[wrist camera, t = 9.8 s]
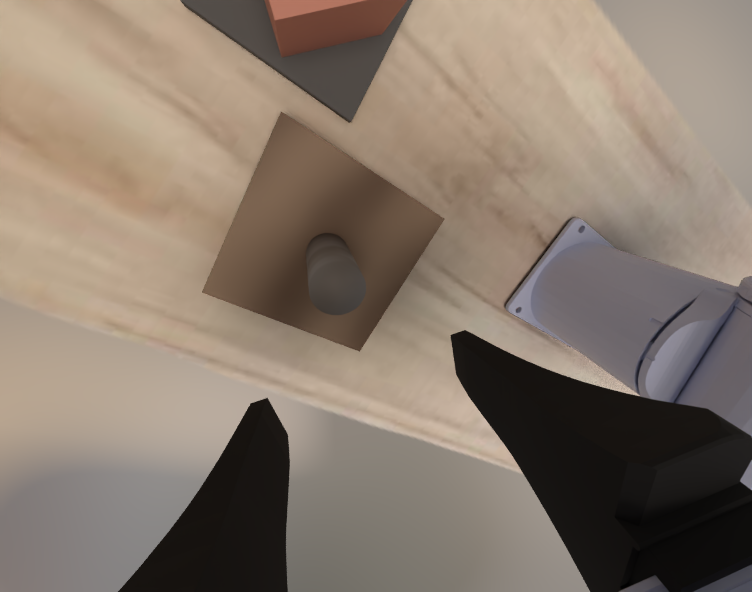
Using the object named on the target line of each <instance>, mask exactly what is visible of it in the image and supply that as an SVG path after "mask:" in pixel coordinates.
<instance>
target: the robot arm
mask: <svg viewBox="0 0 752 592" xmlns="http://www.w3.org/2000/svg"><path fill="white" fill-rule="evenodd" d="M579 227H580V229H579ZM578 230H579V231H578ZM517 308H518V309H517ZM516 309H517V310H516ZM506 310H507V311H508V312H510V313H511V314H513V315H515V316H517V317H519V318H520V319H522V320H524V321H526V322H528V323H529V324H531V325H533V326H535V327H536V328H538V329H540V330H542V331H544V332H545V333H547V334H549V335H551V336H553V337H554V338H556V339H558V340H560V341H562V342H563V343H565V344H567V345H569V346H570V347H572V348H574V349H576V350H577V351H579V352H580V353H582V354H583V355H584V356H586V357H587V358H589V359H590V360H591V361H593V362H594V363H596V364H597V365H598V366H600V367H601V368H602V369H604V370H605V371H607V372H608V373H609V374H611V375H612V376H614V377H615V378H616V379H618V380H619V381H620V382H622V383H623V384H625V385H626V386H627V387H629V388H630V389H632V390H633V391H634V392H636V393H637V394H639V395H640V396H635V395H631V394H626V393H622V392H618V391H614V390H610V389H606V388H603V387H599V386H596V385H592V384H589V383H585V382H582V381H579V380H575V379H572V378H570V377H567V376H564V375H561V374H558V373H555V372H552V371H550V370H547V369H545V368H542V367H540V366H537V365H535V364H533V363H530V362H528V361H526V360H523V359H521V358H519V357H517V356H515V355H512V354H510V353H508V352H506V351H504V350H502V349H500V348H498V347H496V346H494V345H492V344H490V343H489V342H487V341H485V340H483V339H481V338H479V337H477V336H475V335H474V334H472V333H470V332H468V331H466V330H464V331H461V332H458V333H455V334H453V335H451V341H452V348H453V355H454V362H455V369H456V375H457V377H458V378H459V380H460V382H461V384H462V386H463V387H464V389H465V391H466V392H467V394H468V396H469V397H470V399H471V400H472V402H473V403H474V404H475V406H476V407H477V408H478V410H479V411H480V412H481V414H482V415H483V416H484V418H485V419H486V420H487V422H488V423H489V424H490V426H491V427H492V428H493V430H494V431H495V432H496V434H497V435H498V436H499V438H500V439H501V440H502V442H503V443H504V444H505V446H506V447H507V449H508V450H509V452H510V453H511V455H512V456H513V457H514V459H515V461H516V462H517V464H518V466H519V467H520V469H521V471H522V472H523V474H524V475H525V477H526V479H527V480H528V482H529V483H530V485H531V487H532V489H533V490H534V492H535V494H536V495H537V497H538V499H539V500H540V502H541V504H542V505H543V507H544V509H545V511H546V512H547V514H548V516H549V518H550V519H551V521H552V523H553V525H554V526H555V528H556V530H557V532H558V533H559V535H560V537H561V539H562V541H563V542H564V544H565V546H566V548H567V549H568V551H569V553H570V555H571V557H572V559H573V561H574V562H575V564H576V566H577V568H578V570H579V572H580V573H581V575H582V577H583V579H584V581H585V583H586V584H587V586H588V588H589V590H590V592H752V276H749V277H746V278H744V279H742V280H741V283H740V285H739V287H736V286H733V285H729V284H726V283H723V282H720V281H717V280H713V279H710V278H707V277H704V276H701V275H698V274H694V273H691V272H688V271H685V270H682V269H678V268H675V267H672V266H669V265H666V264H663V263H659V262H656V261H653V260H650V259H647V258H643V257H640V256H637V255H634V254H631V253H628V252H624V251H621V250H618V249H616V248H615V247H614V246H612V245H611V244H610V243H609V242H608V241H607V240H605V239H604V238H603V237H602V236H601V235H600V234H598V233H597V232H596V231H595V230H594V229H593V228H592V227H590V226H589V225H588V224H587V223H586V222H585V221H583V220H582V219H580V218H573V219H571V220H570V221H569V223H568V224H567V225H566V227H565V228H564V229H563V231H562V232H561V233H560V234H559V236H558V237H557V238H556V240H555V241H554V242H553V244H552V245H551V246H550V248H549V249H548V250H547V252H546V253H545V254H544V255H543V257H542V258H541V259H540V261H539V262H538V263H537V265H536V266H535V267H534V269H533V270H532V271H531V273H530V274H529V275H528V276H527V278H526V279H525V280H524V282H523V283H522V284H521V286H520V287H519V288H518V290H517V291H516V292H515V294H514V295H513V296H512V297H511V299H510V300H509V301H508V303H507V304H506ZM289 467H290V459H289V444H288V434H287V432H286V430H285V429H284V427H283V426H282V423H281V422H280V420H279V418H278V416H277V414H276V413H275V411H274V409H273V407H272V405H271V404H270V402H269V400H268V398H266V399H263V400H260V401H257V402H254V403H251V404H250V406H249V408H248V409H247V411H246V413H245V415H244V416H243V418H242V420H241V422H240V424H239V425H238V427H237V429H236V431H235V432H234V434H233V436H232V438H231V439H230V441H229V443H228V445H227V446H226V448H225V450H224V451H223V453H222V455H221V456H220V458H219V460H218V461H217V463H216V465H215V466H214V468H213V470H212V471H211V472H210V474H209V476H208V477H207V479H206V481H205V482H204V483H203V485H202V487H201V488H200V490H199V491H198V492H197V494H196V495H195V497H194V498H193V500H192V501H191V503H190V504H189V505H188V507H187V508H186V509H185V511H184V512H183V513H182V515H181V516H180V517H179V519H178V520H177V522H176V523H175V524H174V526H173V527H172V528H171V529H170V531H169V532H168V533H167V535H166V536H165V537H164V538H163V539H162V541H161V542H160V543H159V544H158V545H157V547H156V548H155V549H154V550H153V552H152V553H151V554H150V555H149V556H148V558H147V559H146V560H145V561H144V563H143V564H142V565H141V566H140V567H139V569H138V570H137V571H136V572H135V573H134V574H133V576H132V577H131V578H130V579H129V580H128V581H127V582H126V584H125V585H124V586H123V587H122V588H121V589H120V590H119V591H118V592H288V590H287V568H286V567H287V566H286V522H287V505H288V487H289Z"/></svg>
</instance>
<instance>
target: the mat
mask: <svg viewBox="0 0 752 592" xmlns="http://www.w3.org/2000/svg"><path fill="white" fill-rule="evenodd" d="M180 1H181V2H182V3H183V4H184V6H185V7H187V8H188V9H190V10H191V11H192V12H194V13H195V14H197V15H198V16H199V17H201V18H202V19H204V20H205V21H206V22H208V23H209V24H211V25H212V26H214V27H215V28H216V29H218V30H219V31H221V32H222V33H223V34H225V35H226V36H228V37H229V38H230V39H232V40H233V41H235V42H236V43H238V44H239V45H240V46H242V47H243V48H245V49H246V50H247V51H249V52H250V53H252V54H253V55H255V56H256V57H257V58H259V59H260V60H262V61H263V62H264V63H266V64H267V65H269V66H270V67H271V68H273V69H274V70H276V71H277V72H279V73H280V74H281V75H283V76H284V77H286V78H287V79H288V80H290V81H291V82H293V83H294V84H296V85H297V86H298V87H300V88H301V89H303V90H304V91H305V92H307V93H308V94H310V95H311V96H312V97H314V98H315V99H317V100H318V101H320V102H321V103H322V104H324V105H325V106H327V107H328V108H329V109H331V110H332V111H334V112H335V113H337V114H338V115H339V116H341V117H342V118H344V119H345V120H346V121H348V122H349V123H350V122H351V121H352V119H353V117H354V115H355V113H356V111H357V109H358V107H359V105H360V103H361V101H362V99H363V97H364V95H365V93H366V91H367V89H368V87H369V85H370V83H371V81H372V79H373V77H374V75H375V73H376V72H377V70H378V68H379V66H380V64H381V62H382V60H383V58H384V56H385V54H386V52H387V50H388V48H389V46H390V44H391V42H392V40H393V38H394V36H395V34H396V32H397V30H398V28H399V26H400V24H401V22H402V20H403V18H404V16H405V14H406V12H407V10H408V8H409V6H410V4H411V2H412V0H407V1H406V2H405V4H404V5H403V7H402V8H401V9H400V11H399V12H398V13H397V15H396V16H395V17H394V19H393V20H392V21H391V23H390V24H389V26H388V27H387V28H386V30H385V31H384V32H383V34H381V35H377V36H373V37H368V38H364V39H360V40H355V41H351V42H347V43H342V44H338V45H334V46H329V47H325V48H321V49H316V50H312V51H308V52H303V53H299V54H295V55H290V56H286V57H281V54H280V51H279V47H278V44H277V41H276V37H275V34H274V31H273V28H272V24H271V21H270V18H269V14H268V11H267V8H266V4H265V1H264V0H180Z"/></svg>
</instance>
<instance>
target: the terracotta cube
mask: <svg viewBox="0 0 752 592" xmlns="http://www.w3.org/2000/svg"><path fill="white" fill-rule="evenodd" d="M264 1H265V4H266V8H267V11H268V14H269V18H270V21H271V24H272V28H273V31H274V34H275V37H276V41H277V44H278V47H279V51H280V54H281V57H286V56H290V55H295V54H299V53H303V52H308V51H312V50H316V49H321V48H325V47H329V46H334V45H338V44H342V43H347V42H351V41H355V40H360V39H364V38H368V37H373V36H377V35H381V34H383V32H384V31H385V30H386V28H387V27H388V26H389V24H390V23H391V21H392V20H393V19H394V17H395V16H396V15H397V13H398V12H399V11H400V9H401V8H402V7H403V5H404V4H405V2H406V1H407V0H264Z"/></svg>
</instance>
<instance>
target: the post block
mask: <svg viewBox="0 0 752 592" xmlns="http://www.w3.org/2000/svg"><path fill="white" fill-rule="evenodd" d="M443 220H444V218H442V217H441V216H439V215H438V214H436V213H435V212H433V211H432V210H430V209H429V208H427V207H426V206H424V205H422V204H421V203H419V202H418V201H416V200H415V199H413V198H412V197H410V196H409V195H407V194H406V193H404V192H403V191H401V190H400V189H398V188H397V187H395V186H394V185H392V184H391V183H389V182H387V181H386V180H384V179H383V178H381V177H380V176H378V175H377V174H375V173H374V172H372V171H371V170H369V169H368V168H366V167H365V166H363V165H362V164H360V163H359V162H357V161H356V160H354V159H352V158H351V157H349V156H348V155H346V154H345V153H343V152H342V151H340V150H339V149H337V148H336V147H334V146H333V145H331V144H330V143H328V142H327V141H325V140H324V139H322V138H321V137H319V136H317V135H316V134H314V133H313V132H311V131H310V130H308V129H307V128H305V127H304V126H302V125H301V124H299V123H298V122H296V121H295V120H293V119H292V118H290V117H289V116H287V115H286V114H284V113H282V112H281V113H280V116H279V118H278V120H277V123H276V125H275V127H274V129H273V132H272V134H271V136H270V138H269V141H268V143H267V145H266V148H265V150H264V152H263V154H262V157H261V159H260V161H259V163H258V166H257V168H256V170H255V173H254V175H253V177H252V179H251V182H250V184H249V186H248V188H247V191H246V193H245V195H244V198H243V200H242V202H241V204H240V207H239V209H238V211H237V214H236V216H235V218H234V220H233V223H232V225H231V227H230V229H229V232H228V234H227V236H226V239H225V241H224V243H223V245H222V248H221V250H220V252H219V254H218V257H217V259H216V261H215V264H214V266H213V268H212V270H211V273H210V275H209V277H208V280H207V282H206V284H205V286H204V289H203V291H202V293H205V294H208V295H210V296H213V297H216V298H218V299H221V300H224V301H226V302H229V303H232V304H234V305H237V306H240V307H242V308H245V309H248V310H250V311H253V312H256V313H258V314H261V315H264V316H266V317H269V318H272V319H274V320H277V321H280V322H282V323H285V324H288V325H290V326H293V327H296V328H299V329H301V330H304V331H307V332H309V333H312V334H315V335H317V336H320V337H323V338H325V339H328V340H331V341H333V342H336V343H339V344H341V345H344V346H347V347H349V348H352V349H355V350H357V351H360V350H361V348H362V347H363V345H364V344H365V342H366V341H367V339H368V337H369V336H370V334H371V333H372V331H373V330H374V328H375V327H376V325H377V323H378V322H379V320H380V319H381V317H382V316H383V314H384V312H385V311H386V309H387V308H388V306H389V305H390V303H391V302H392V300H393V298H394V297H395V295H396V294H397V292H398V291H399V289H400V288H401V286H402V284H403V283H404V281H405V280H406V278H407V277H408V275H409V273H410V272H411V270H412V269H413V267H414V266H415V264H416V263H417V261H418V259H419V258H420V256H421V255H422V253H423V252H424V250H425V248H426V247H427V245H428V244H429V242H430V241H431V239H432V238H433V236H434V234H435V233H436V231H437V230H438V228H439V227H440V225H441V224H442V222H443Z"/></svg>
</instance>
